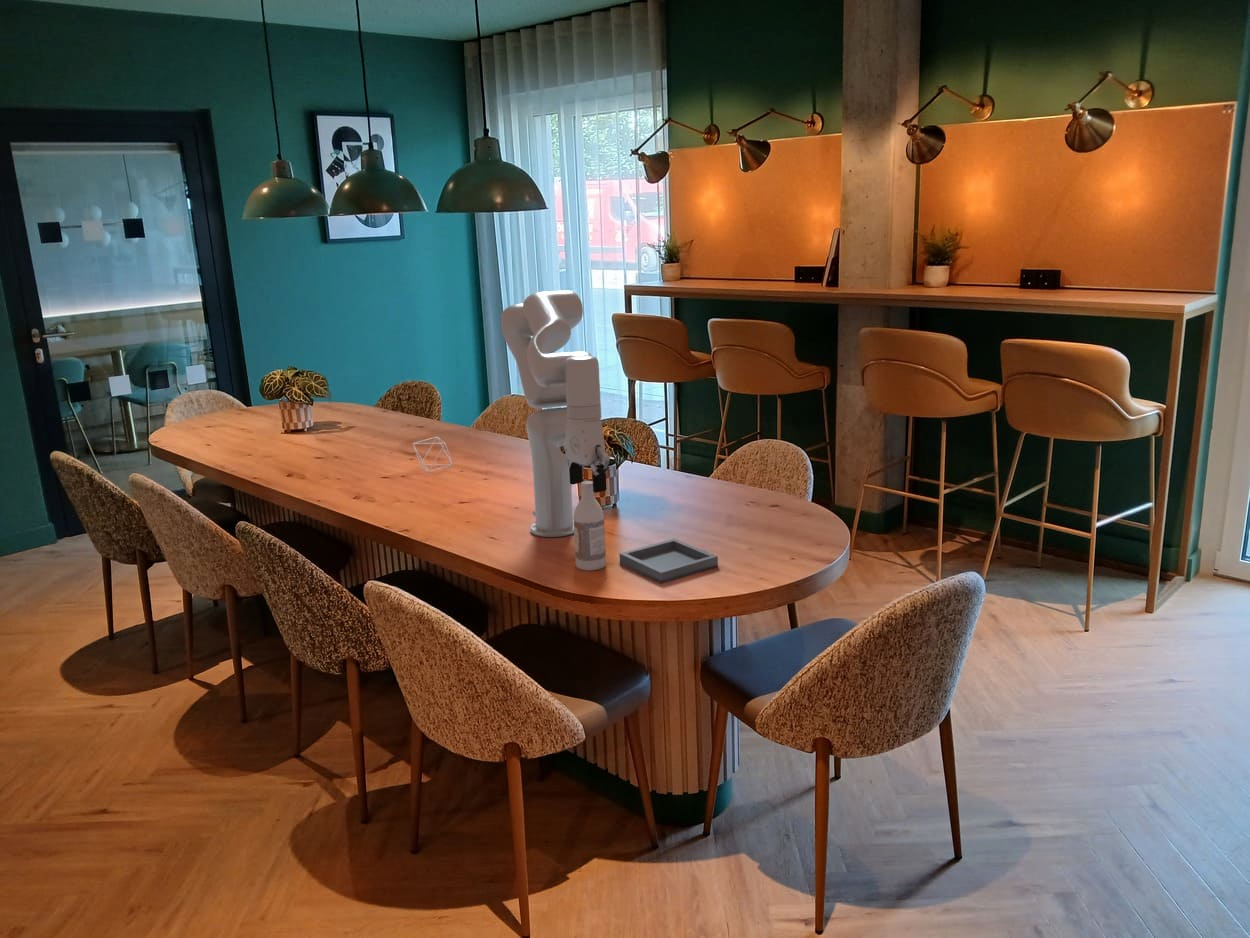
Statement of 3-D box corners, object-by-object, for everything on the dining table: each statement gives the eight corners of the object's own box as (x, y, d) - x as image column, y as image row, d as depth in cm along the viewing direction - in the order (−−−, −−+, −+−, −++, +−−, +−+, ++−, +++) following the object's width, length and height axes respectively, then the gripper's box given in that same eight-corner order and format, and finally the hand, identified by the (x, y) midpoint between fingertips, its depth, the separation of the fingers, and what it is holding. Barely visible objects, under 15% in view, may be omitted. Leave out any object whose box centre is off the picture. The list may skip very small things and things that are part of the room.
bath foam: (573, 562, 222) (569, 479, 217) (603, 559, 224) (599, 477, 218) (578, 572, 216) (574, 487, 211) (608, 569, 217) (605, 485, 212)
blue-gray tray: (619, 563, 220) (619, 553, 220) (674, 548, 229) (674, 538, 229) (661, 583, 208) (661, 572, 207) (717, 566, 216) (717, 556, 216)
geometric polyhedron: (408, 469, 312) (405, 442, 310) (432, 461, 321) (430, 435, 318) (435, 473, 305) (432, 446, 303) (459, 466, 314) (457, 439, 311)
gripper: (549, 409, 215) (554, 483, 219) (590, 419, 201) (594, 498, 205) (577, 405, 219) (581, 477, 223) (620, 415, 205) (623, 491, 209)
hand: (588, 487), depth 214 cm, fingers open, 9 cm apart
